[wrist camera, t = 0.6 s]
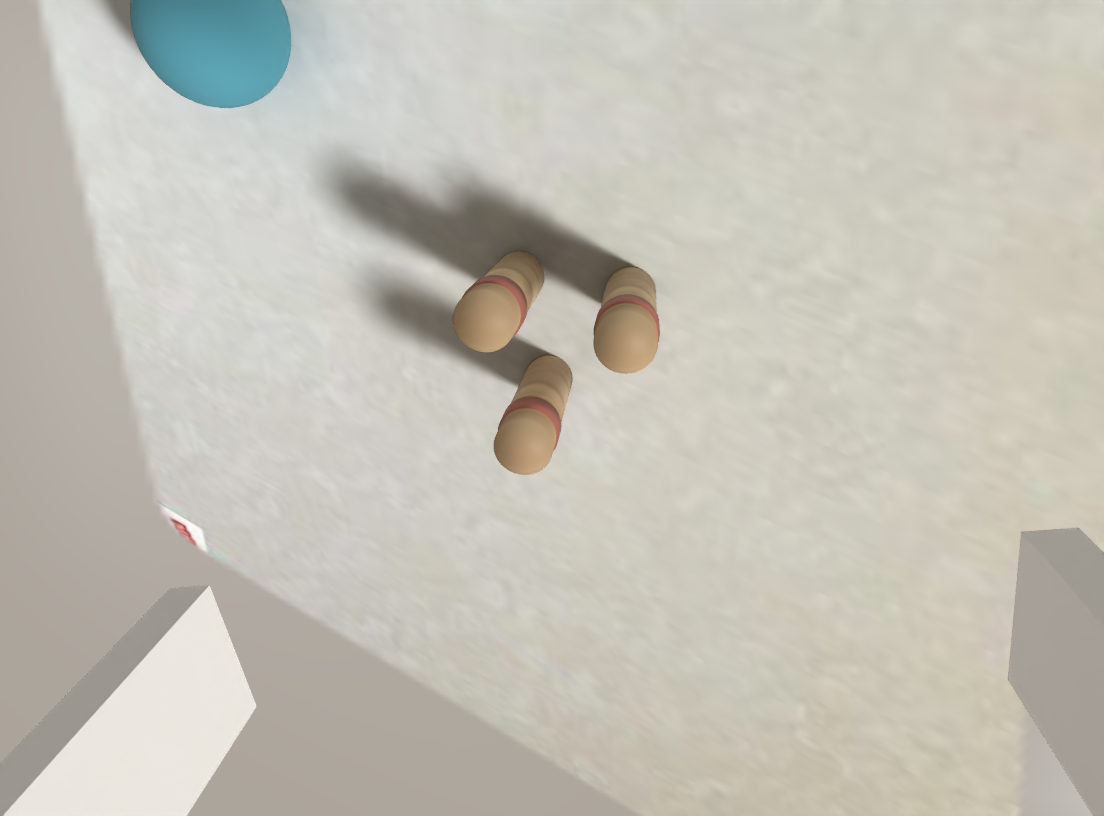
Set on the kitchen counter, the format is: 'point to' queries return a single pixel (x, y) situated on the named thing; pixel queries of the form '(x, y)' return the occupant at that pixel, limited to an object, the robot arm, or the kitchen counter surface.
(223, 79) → the ball
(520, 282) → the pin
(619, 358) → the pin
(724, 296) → the kitchen counter surface
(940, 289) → the kitchen counter surface
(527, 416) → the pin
